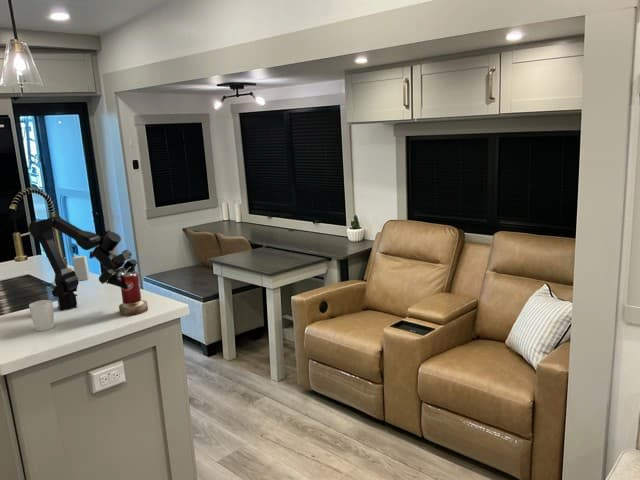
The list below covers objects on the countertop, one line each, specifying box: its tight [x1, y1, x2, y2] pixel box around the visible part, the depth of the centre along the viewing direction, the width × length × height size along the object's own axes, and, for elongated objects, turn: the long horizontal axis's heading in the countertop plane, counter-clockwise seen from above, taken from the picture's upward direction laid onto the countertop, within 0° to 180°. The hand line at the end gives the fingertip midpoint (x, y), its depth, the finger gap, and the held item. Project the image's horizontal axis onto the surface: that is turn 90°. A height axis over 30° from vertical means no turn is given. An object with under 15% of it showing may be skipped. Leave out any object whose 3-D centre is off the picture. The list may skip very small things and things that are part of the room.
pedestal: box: [118, 299, 149, 317], centre depth 217 cm, size 11×11×3 cm
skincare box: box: [71, 255, 91, 282], centre depth 270 cm, size 6×4×12 cm
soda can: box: [119, 271, 142, 305], centre depth 215 cm, size 7×7×12 cm
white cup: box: [28, 299, 55, 332], centre depth 202 cm, size 8×8×10 cm
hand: (133, 285), depth 214 cm, fingers closed on soda can, 7 cm apart
